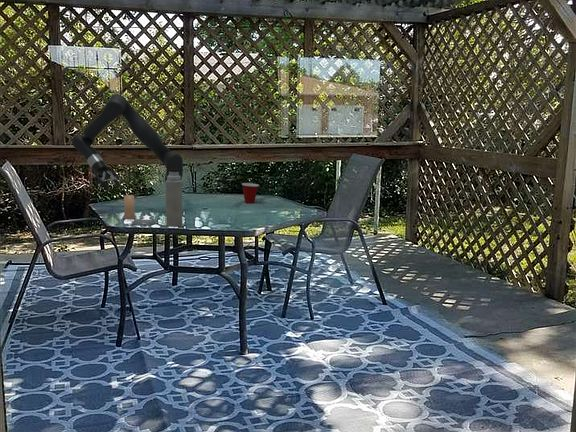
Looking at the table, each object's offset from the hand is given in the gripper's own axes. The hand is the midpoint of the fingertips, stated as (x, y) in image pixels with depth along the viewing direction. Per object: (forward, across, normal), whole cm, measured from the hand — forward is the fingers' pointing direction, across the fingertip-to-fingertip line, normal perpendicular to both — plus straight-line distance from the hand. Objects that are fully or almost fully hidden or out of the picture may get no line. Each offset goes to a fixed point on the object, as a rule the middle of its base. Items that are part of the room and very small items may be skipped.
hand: (113, 187), depth 328 cm
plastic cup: (+33, -83, +11) cm, 90 cm away
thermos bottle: (+41, -1, +19) cm, 45 cm away
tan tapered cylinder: (+19, 0, -3) cm, 19 cm away
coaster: (+29, +4, +8) cm, 31 cm away
